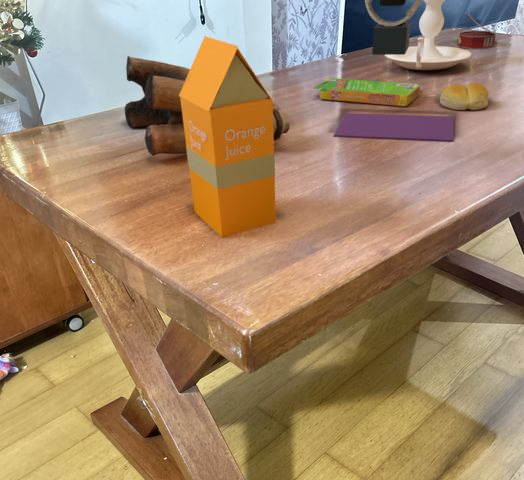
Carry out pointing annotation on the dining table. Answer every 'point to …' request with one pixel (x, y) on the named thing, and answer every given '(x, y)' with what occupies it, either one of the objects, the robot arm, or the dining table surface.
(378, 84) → the game box
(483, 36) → the canned food
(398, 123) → the cloth
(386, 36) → the watch
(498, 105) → the dining table surface
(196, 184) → the orange juice
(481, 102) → the bread roll
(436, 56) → the candlestick
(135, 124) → the stacked firewood logs
